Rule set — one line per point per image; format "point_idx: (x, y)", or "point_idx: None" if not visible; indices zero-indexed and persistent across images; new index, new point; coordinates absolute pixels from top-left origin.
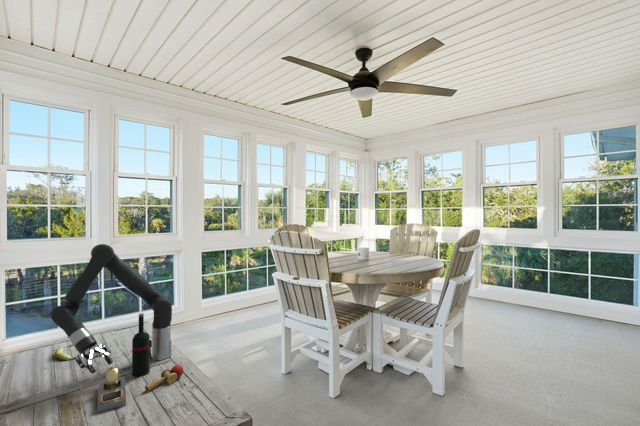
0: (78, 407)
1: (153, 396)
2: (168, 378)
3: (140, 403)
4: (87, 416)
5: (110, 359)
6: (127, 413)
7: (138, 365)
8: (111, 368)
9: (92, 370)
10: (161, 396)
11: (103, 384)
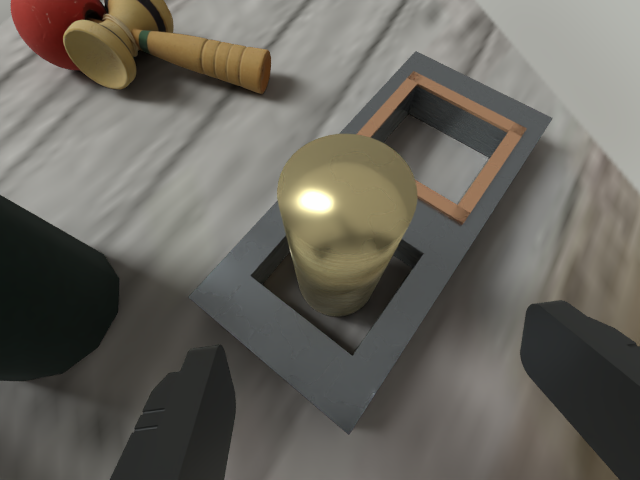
0: (575, 302)
1: (292, 33)
2: (162, 2)
3: (363, 40)
4: (575, 163)
5: (192, 387)
6: (445, 32)
7: (43, 233)
8: (341, 210)
9: (604, 325)
10: (279, 8)
11: (358, 354)
